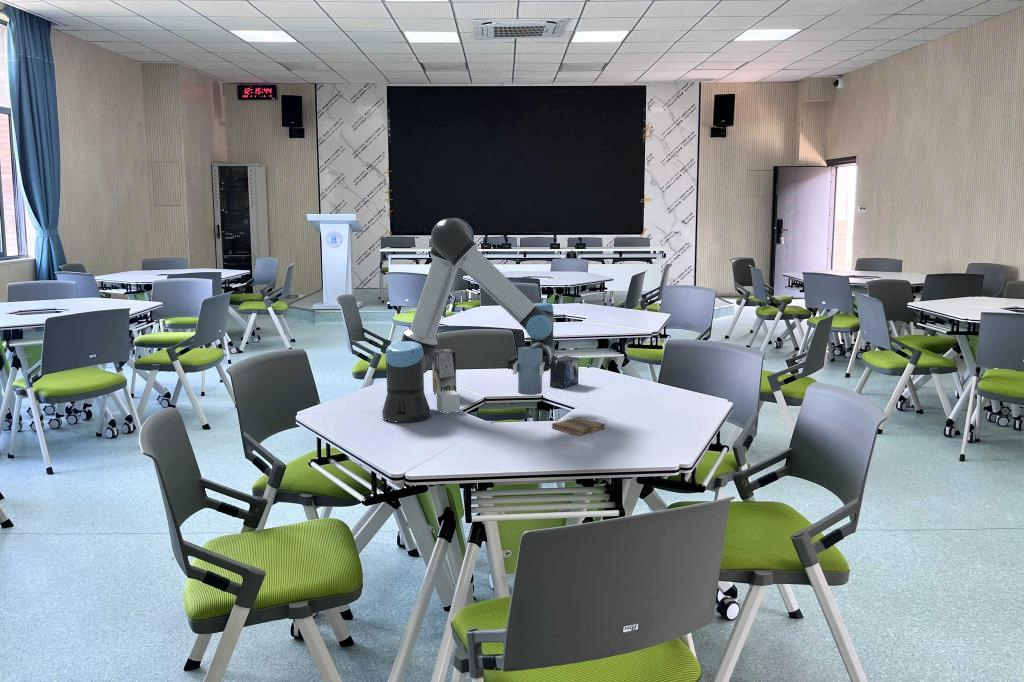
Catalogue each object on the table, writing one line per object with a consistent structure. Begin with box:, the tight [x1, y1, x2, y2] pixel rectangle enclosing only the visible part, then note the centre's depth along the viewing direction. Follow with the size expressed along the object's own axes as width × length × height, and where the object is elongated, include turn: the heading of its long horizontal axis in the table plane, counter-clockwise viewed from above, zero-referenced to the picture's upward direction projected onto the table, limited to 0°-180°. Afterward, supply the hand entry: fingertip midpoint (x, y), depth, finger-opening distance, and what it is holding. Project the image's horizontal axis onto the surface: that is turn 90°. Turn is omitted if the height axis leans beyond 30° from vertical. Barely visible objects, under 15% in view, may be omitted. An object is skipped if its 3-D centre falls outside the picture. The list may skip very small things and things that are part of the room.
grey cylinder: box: [517, 346, 543, 396], centre depth 237 cm, size 7×7×13 cm
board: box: [551, 417, 606, 436], centre depth 242 cm, size 11×11×2 cm
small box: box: [549, 355, 580, 390], centre depth 302 cm, size 11×6×10 cm, turn 143°
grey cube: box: [436, 391, 461, 414], centre depth 266 cm, size 6×6×6 cm
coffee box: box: [431, 348, 457, 395], centre depth 288 cm, size 9×6×16 cm
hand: (527, 370), depth 232 cm, fingers closed on grey cylinder, 7 cm apart
